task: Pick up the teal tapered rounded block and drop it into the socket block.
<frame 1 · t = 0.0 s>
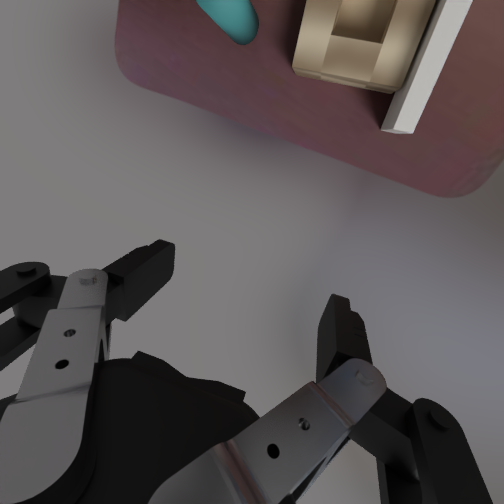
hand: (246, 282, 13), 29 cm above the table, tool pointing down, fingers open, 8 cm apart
backstop wall: (428, 34, 28), on the table
socket block: (360, 24, 30), on the table
teal tapered rounded block: (243, 25, 32), on the table
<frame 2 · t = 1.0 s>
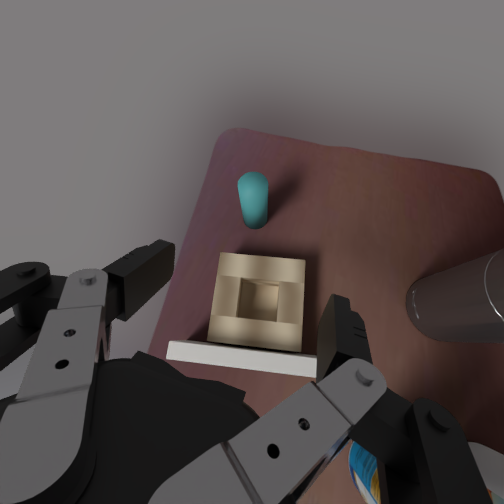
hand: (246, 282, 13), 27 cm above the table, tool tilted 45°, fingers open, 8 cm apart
beverage bottle: (379, 462, 32), on the table
backstop wall: (253, 355, 36), on the table
socket block: (258, 303, 39), on the table
teal tapered rounded block: (255, 218, 43), on the table
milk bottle: (473, 476, 31), on the table
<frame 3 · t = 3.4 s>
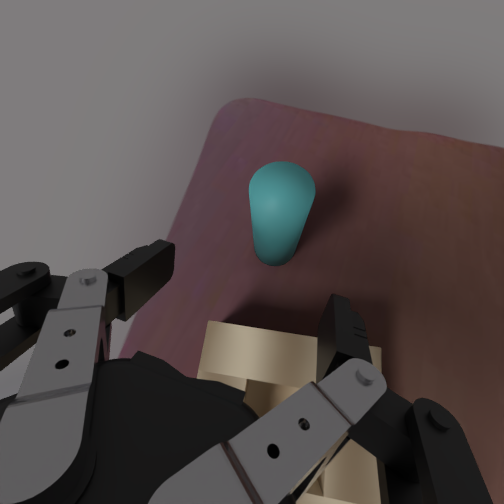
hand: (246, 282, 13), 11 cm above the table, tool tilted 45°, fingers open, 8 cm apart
socket block: (278, 412, 21), on the table
teal tapered rounded block: (274, 246, 25), on the table
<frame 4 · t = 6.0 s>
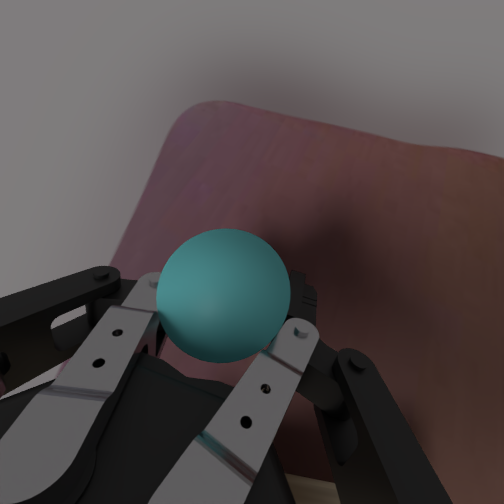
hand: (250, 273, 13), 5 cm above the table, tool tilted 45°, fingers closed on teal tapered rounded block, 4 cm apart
teal tapered rounded block: (244, 317, 17), on the table, touching gripper
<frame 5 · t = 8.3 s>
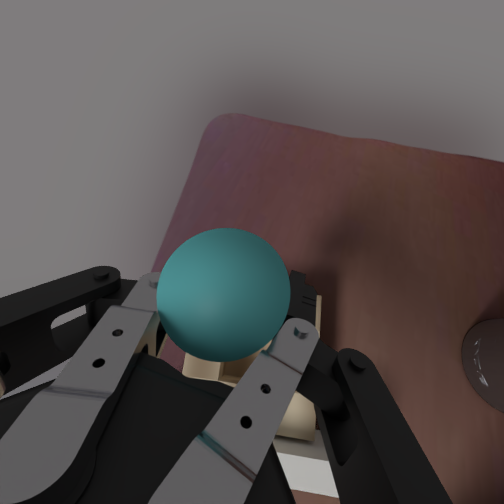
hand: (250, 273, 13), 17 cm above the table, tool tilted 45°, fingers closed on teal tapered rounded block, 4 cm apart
backstop wall: (244, 429, 25), on the table
socket block: (253, 350, 28), on the table
teal tapered rounded block: (244, 317, 17), point 12 cm above the table, touching gripper
when the fingers open (8 cm above the table, at t = 11.0 s): teal tapered rounded block drops 3 cm, resting on socket block.
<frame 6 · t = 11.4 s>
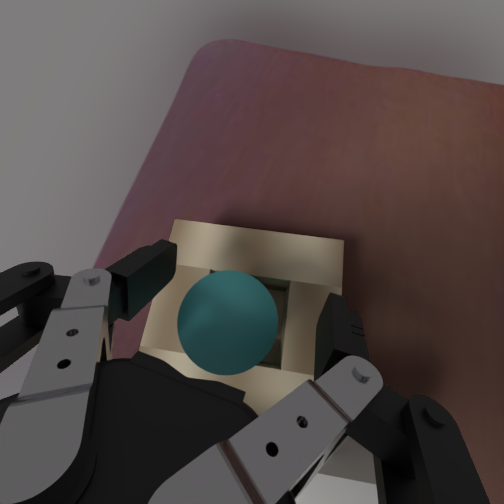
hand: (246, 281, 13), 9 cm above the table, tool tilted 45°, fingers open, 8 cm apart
backstop wall: (231, 428, 18), on the table
socket block: (247, 321, 21), on the table, touching teal tapered rounded block
teal tapered rounded block: (246, 321, 20), point 1 cm above the table, touching socket block
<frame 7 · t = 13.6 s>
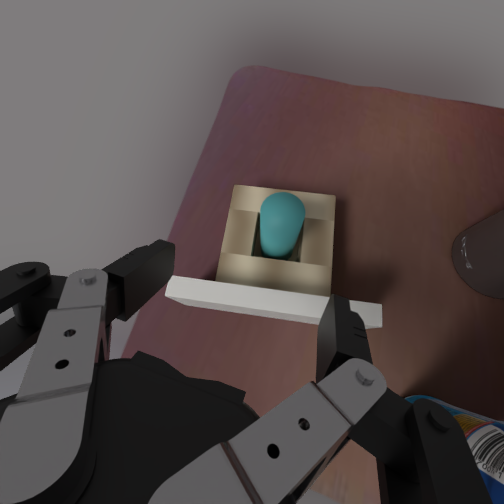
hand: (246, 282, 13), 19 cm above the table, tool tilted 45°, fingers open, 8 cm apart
beverage bottle: (423, 438, 26), on the table
backstop wall: (269, 308, 30), on the table
socket block: (276, 251, 33), on the table, touching teal tapered rounded block
teal tapered rounded block: (276, 249, 32), point 1 cm above the table, touching socket block
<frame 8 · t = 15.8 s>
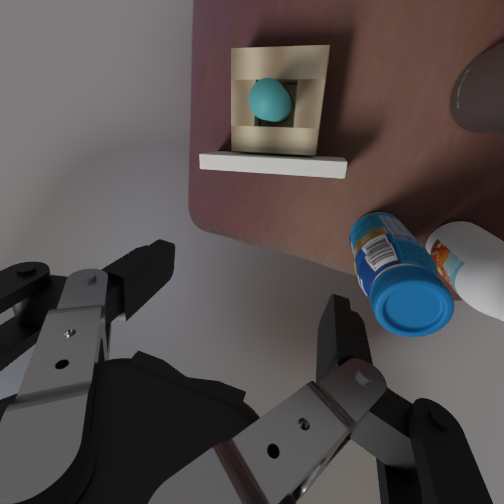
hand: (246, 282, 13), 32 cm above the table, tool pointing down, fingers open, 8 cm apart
beverage bottle: (375, 235, 42), on the table
backstop wall: (276, 160, 40), on the table
socket block: (280, 107, 38), on the table, touching teal tapered rounded block
teal tapered rounded block: (279, 107, 37), point 1 cm above the table, touching socket block
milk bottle: (452, 243, 39), on the table
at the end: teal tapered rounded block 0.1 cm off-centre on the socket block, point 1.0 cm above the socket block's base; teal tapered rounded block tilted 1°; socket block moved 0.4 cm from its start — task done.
